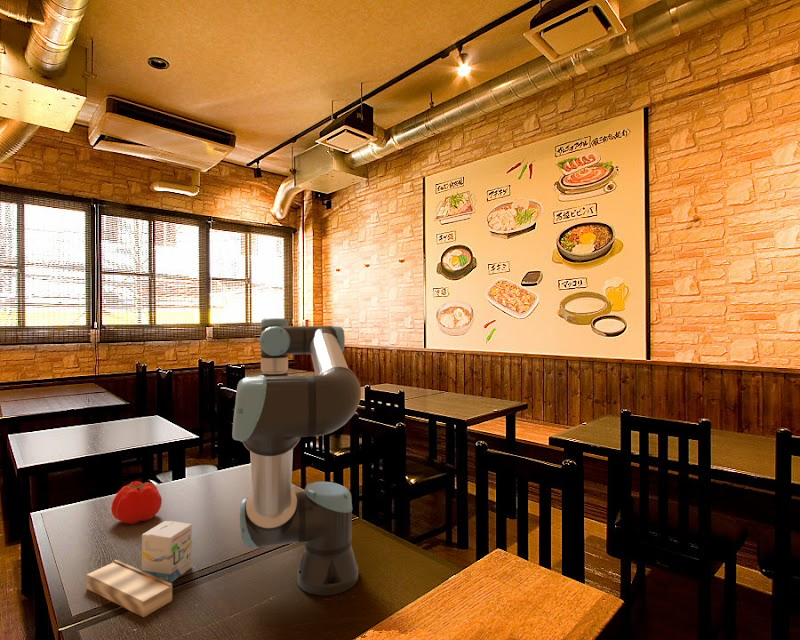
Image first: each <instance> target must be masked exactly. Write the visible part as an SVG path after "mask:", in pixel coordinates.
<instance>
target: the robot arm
mask: <svg viewBox="0 0 800 640" xmlns="http://www.w3.org/2000/svg"><path fill="white" fill-rule="evenodd" d="M345 342H346V341H345V330H344V329H343V327H342V326H333V325H316V326H315V325H313V326H307V325H305V326H304V325H302V326H301V325H300V326H299V325H298V326H296V325H295V326H293V325H289V323H288V319H286V318H282V317H281V318H280V317H279V318H277V317H276V318H275V317H274V318H272V317H271V318H269V317H268V318H266V317H265V318H263V319H261V322H260V335H259V346H260V371H261V374H260V375H258V376H246V377H243V378H242V379H240V380H239V381H238V384H237V388H236V392H235V393H236V394H235V401H234V402H235V404H234V412H233V422H232V431H231V433H232V434H231V435H232V436H231V437H232V439H233V440H234V441H239V442H241V443H242V444H243V446H244V447H245V448H246V449H247V450H248V451H249V454H250V476H251V477H250V478H251V492H250V493H249V495H247V496H245V497H243V498H242V500H241V503H240V508H239V527H240V536H241V540H242V543H243V545H244V547H246V548H249V549H250V548H252V549H253V548H257V549H261V548H262V549H263V548H266V547H274V546H281V545H289V544H297V543H298V544H299V543H300V544H301V543H304V552H303V555H302V556H301V560H300V564H299V567H298V569H297V584H298V586H299V588H300V589H301V590H302V591H304V592H305V593H308V594H310V595H315V596H333V595H338V593H339V594H342V593H344V592H346V591H348V590H350V589H351V588H353V587H354V586H355V585H356V584H357V582H358V579H359V565H358V562H357V561H356V557H355V554H354V550H353V547H352V529H353V527H352V520H353V519H352V518H353V517H352V515H353V513H352V511H353V504H352V501H353V500H352V493H351V491H350V490H349V488H347V487H346V486H344V485H341V484H339V483H336V482H332V481H331V482H330V481H314V482H310V483H308V484H307V485H305V487H304V491H296V492H295V490H294V489H293V488H292V479H293V478H292V477H293V474H292V473H293V457H294V456H293V455H294V453H293V452H294V448H295V447H296V446H297V444H299V442H300V440H301V438H305V437H321V436H324V435H325V436H326V435H328V434H331V433H334V432H335V431H337V430H338V429H341V428H342V427H343V426H345V425H346V424H347V423H348V422H349V421H350V419H352V418H353V416H354V414H355V413H356V411H357V409H358V407H359V406H360V402H361V396H362V388H361V384H360V382H359V379H358V377H357V375H356V373H355V372H354V371H352V370H351V369H350V368H349V366H348V364H347V361H346V358H345V356H344V353H343V352H344V350H345ZM289 355H310V356H311V360H312V365H313V370H314V371H313V372H314V374H309V375H307V374H305V375H301V374H300V375H289V373H288V372H287V371H288V370H289Z"/></svg>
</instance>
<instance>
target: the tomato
mask: <svg viewBox="0 0 800 640" xmlns="http://www.w3.org/2000/svg"><path fill="white" fill-rule="evenodd" d="M162 502H163V501H162V496H161V494H160V491H159V489H158V487H157V486H156V485H155V484H154V483H152V482H148V481H147V482H144V483H143V482H141V481H138V480H136V481H135V480H134V481H131V482H130V483H128V484H126V485H124V486H122V487H121V488H120V489H119V490H118V491H117V493H116V494H115V496H114V498H113V500H112V503H111V508H110V509H111V510H110V511H111V515H112V516H113V517H114V518H115V519H116V520H117V521H120V522H121V523H124V524H128V525H129V524H131V525H134V524H137V523H139V522H147V521H149V520H151V519H152V518H154V517H155V516H156V515H157V514H158V513H159V511H160V509H161V507H162Z"/></svg>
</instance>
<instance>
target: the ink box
mask: <svg viewBox="0 0 800 640" xmlns="http://www.w3.org/2000/svg"><path fill="white" fill-rule="evenodd" d="M192 525H193V524H192V523H186V522H181V521H174V520H170V521H169V520H164V521H162V522H160V523H159V524H157V525H155V526H154V527H152V528H150V529H149V530H147V531H146V532H143V533H142V534H141V571H144V572H146V573H148V574H151V575H153V576H155V577H158V578H160V579H162V580H165V581H167V582H169V583H172V584H173V583H174V581H176V580H177V579H178V578H180V577H181V576H182V575H184V574H185V573H187V571H189V570H190V569H192V567H193V566H192V562H193V561H192V559H193V558H192V554H193V553H192V551H193V550H192V543H193V541H192V539H193V536H192V535H193V533H192V532H193V527H192Z"/></svg>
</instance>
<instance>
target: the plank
mask: <svg viewBox="0 0 800 640" xmlns="http://www.w3.org/2000/svg"><path fill="white" fill-rule="evenodd" d="M86 589H87V590H88V591H90V592H93V593H95V594H96V595H98V596H101V597H102V598H104V599H106V600H108V601H110V602H112V603H115V604H116V605H117V606H120V607H122V608H124V609H126V610H128V611H130V612H132V613H134V614H136V615H137V616H140V617H142V618H144V617H147V616H148V615H150V614H152V613H153V612H155V611H157V610H158V609H160V608H162V607H164V606H165V605H167V604H169V603H171V602H172V601H173V582H172V583H169V582H167V581H165V580H162V579H160V578H158V577H155V576H153V575H151V574H148V573H146V572H144V571H142V569H139V568H136V567H134V566H132V565H130V564H127V563H125V562H122V561H121V560H118V559H114V560H113V562H111V563H109V564H107V565H104V566H103V567H100V568H98V569H96V570H93V571H92V572H89V573H87V574H86Z"/></svg>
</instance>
